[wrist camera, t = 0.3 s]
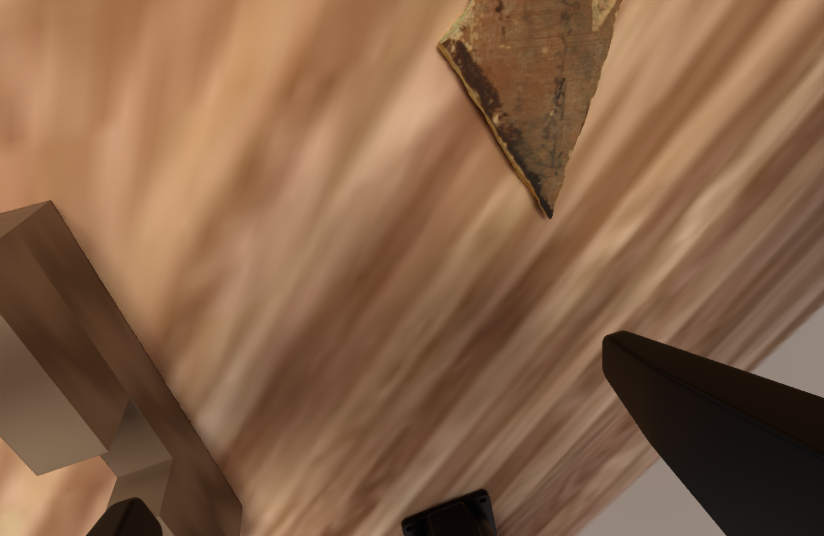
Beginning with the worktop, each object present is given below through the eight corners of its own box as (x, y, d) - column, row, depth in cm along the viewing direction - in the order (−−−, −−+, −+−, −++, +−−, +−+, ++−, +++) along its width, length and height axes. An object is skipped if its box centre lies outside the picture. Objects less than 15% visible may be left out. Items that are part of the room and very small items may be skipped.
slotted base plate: (241, 505, 28) (234, 611, 23) (200, 520, 28) (183, 631, 23) (50, 200, 18) (-38, 266, 13) (-18, 218, 18) (-135, 293, 13)
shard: (537, 210, 25) (554, 222, 24) (401, 191, 23) (410, 203, 21) (614, -22, 21) (641, -25, 19) (455, -75, 18) (472, -84, 17)
